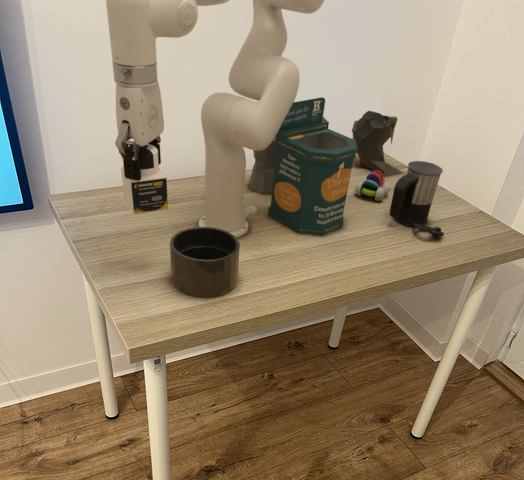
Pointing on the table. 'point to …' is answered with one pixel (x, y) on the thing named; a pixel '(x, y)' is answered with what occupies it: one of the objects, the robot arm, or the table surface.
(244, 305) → the table surface
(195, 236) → the bucket
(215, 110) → the robot arm
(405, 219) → the milk frother
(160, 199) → the medicine bottle
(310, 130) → the donation box
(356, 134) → the grey walrus sculpture
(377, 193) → the rainbow caterpillar toy
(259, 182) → the coffeepot
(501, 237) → the table surface
